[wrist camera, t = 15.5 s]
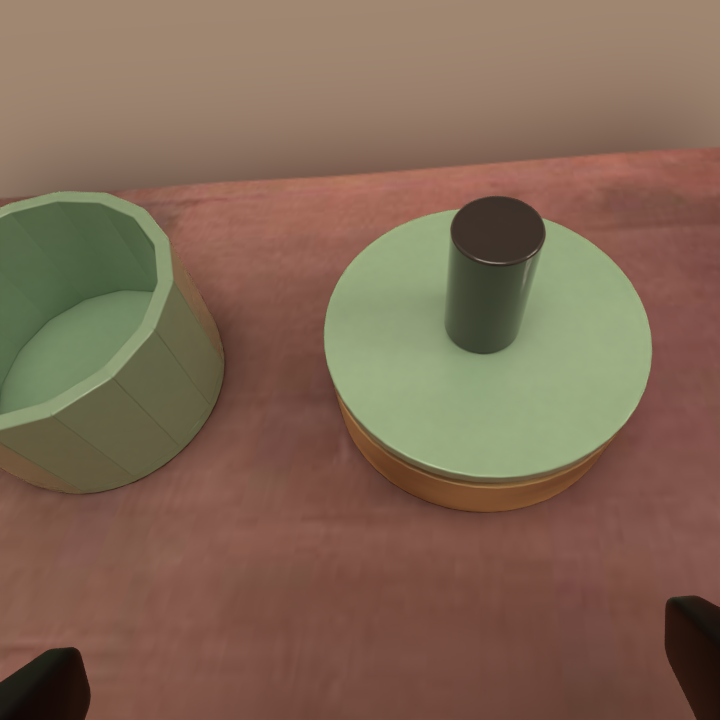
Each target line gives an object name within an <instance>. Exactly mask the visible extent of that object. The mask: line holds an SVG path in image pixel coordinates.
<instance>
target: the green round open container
mask: <svg viewBox="0 0 720 720" xmlns="http://www.w3.org/2000/svg"><path fill="white" fill-rule="evenodd" d="M224 365H225V360H224V349H223V345H222V341H221V337H220V335H219V333H218V328H217V325H216V323H215V321H214V319H213V317H212V315H211V313H210V312H209V310H208V308H207V306H206V304H205V303H204V301H203V299H202V297H201V295H200V294H199V292H198V290H197V288H196V286H195V285H194V283H193V281H192V279H191V277H190V276H189V274H188V272H187V270H186V268H185V267H184V265H183V263H182V261H181V259H180V257H179V256H178V254H177V252H176V250H175V248H174V247H173V245H172V243H171V241H170V239H169V238H168V236H167V235H166V234H165V233H164V232H163V230H162V229H161V228H160V227H159V225H158V224H157V223H156V222H155V220H154V219H153V218H152V217H151V215H150V214H149V213H148V212H147V210H145V209H144V208H142V207H140V206H137V205H135V204H133V203H130V202H128V201H125V200H123V199H121V198H118V197H116V196H113V195H111V194H108V193H101V192H67V191H65V192H64V191H61V192H55V193H51V194H47V195H43V196H38V197H34V198H30V199H26V200H22V201H18V202H14V203H10V204H9V205H8V204H7V205H5V206H3V207H1V208H0V468H1V469H3V470H5V471H7V472H9V473H11V474H12V475H14V476H16V477H18V478H20V479H22V480H24V481H26V482H28V483H29V484H31V485H34V486H38V487H43V488H46V489H48V490H52V491H57V492H62V493H76V494H84V493H95V492H101V491H106V490H110V489H115V488H118V487H121V486H123V485H126V484H129V483H132V482H134V481H136V480H138V479H140V478H142V477H145V476H147V475H148V474H150V473H152V472H153V471H155V470H157V469H158V468H160V467H162V466H163V465H164V464H166V463H167V462H168V461H169V460H171V459H172V458H173V457H175V456H176V455H177V454H178V453H179V452H180V451H181V450H182V449H183V448H184V447H185V446H187V445H188V444H189V442H190V441H191V440H192V439H193V438H194V437H195V435H196V434H197V433H198V432H199V431H200V429H201V428H202V426H203V425H204V423H205V422H206V420H207V419H208V417H209V415H210V413H211V411H212V409H213V408H214V406H215V404H216V401H217V398H218V395H219V393H220V390H221V386H222V381H223V376H224Z"/></svg>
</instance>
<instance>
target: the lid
mask: <svg viewBox="0 0 720 720" xmlns="http://www.w3.org/2000/svg"><path fill="white" fill-rule="evenodd" d="M324 351H325V356H326V361H327V367H328V370H329V373H330V376H331V379H332V382H333V385H334V387H335V390H336V392H337V394H338V396H339V397H340V399H341V401H342V403H343V405H344V407H345V408H346V409H347V411H348V412H349V413H350V415H351V416H352V418H353V419H354V420H355V422H356V423H357V424H358V425H359V426H360V427H361V428H362V429H363V430H364V431H365V432H366V433H367V434H368V435H369V436H370V437H371V438H372V439H373V440H375V441H376V442H377V443H379V444H380V445H381V446H382V447H384V448H385V449H386V450H387V451H389V452H391V453H393V454H394V455H396V456H398V457H399V458H401V459H403V460H404V461H406V462H408V463H410V464H413V465H415V466H417V467H419V468H422V469H424V470H426V471H429V472H432V473H436V474H439V475H442V476H446V477H449V478H454V479H460V480H466V481H472V482H487V483H505V482H517V481H525V480H530V479H535V478H539V477H544V476H548V475H550V474H553V473H556V472H559V471H561V470H564V469H567V468H569V467H571V466H573V465H575V464H577V463H579V462H581V461H582V460H584V459H586V458H588V457H590V456H591V455H592V454H594V453H595V452H596V451H598V450H599V449H600V448H602V447H603V446H604V445H606V444H607V443H608V442H609V441H610V440H611V439H612V438H613V437H614V436H615V435H616V434H617V433H618V432H619V431H620V430H621V428H622V427H623V426H624V424H625V423H626V422H627V420H628V419H629V417H630V416H631V415H632V413H633V412H634V410H635V409H636V407H637V405H638V403H639V401H640V399H641V397H642V395H643V393H644V391H645V388H646V385H647V381H648V378H649V374H650V369H651V360H652V341H651V332H650V327H649V323H648V318H647V315H646V312H645V310H644V307H643V305H642V302H641V300H640V298H639V296H638V294H637V292H636V291H635V289H634V287H633V285H632V284H631V282H630V281H629V279H628V278H627V277H626V276H625V274H624V273H623V272H622V270H621V269H620V268H619V267H618V266H617V265H616V264H615V263H614V262H613V261H612V260H611V259H610V258H609V257H608V256H607V255H606V254H605V253H604V252H603V251H601V250H600V249H599V248H598V247H596V246H595V245H594V244H593V243H591V242H590V241H588V240H587V239H585V238H583V237H582V236H580V235H579V234H577V233H575V232H573V231H571V230H569V229H567V228H565V227H563V226H561V225H559V224H557V223H554V222H552V221H549V220H546V219H544V218H541V216H540V215H539V214H538V213H537V211H536V210H535V209H533V208H532V207H531V206H529V205H528V204H526V203H524V202H522V201H520V200H517V199H514V198H510V197H504V196H490V197H483V198H479V199H476V200H474V201H471V202H470V203H468V204H466V205H465V206H463V207H462V208H461V209H455V210H447V211H443V212H438V213H433V214H429V215H426V216H423V217H420V218H416V219H413V220H411V221H409V222H407V223H404V224H402V225H400V226H397V227H396V228H394V229H392V230H390V231H389V232H387V233H385V234H383V235H382V236H380V237H379V238H378V239H376V240H375V241H373V242H372V243H371V244H369V245H368V246H367V247H366V248H365V249H364V250H363V251H362V252H361V253H360V254H358V255H357V256H356V258H355V259H354V260H353V261H352V262H351V264H350V265H349V266H348V267H347V268H346V270H345V271H344V273H343V274H342V276H341V278H340V279H339V281H338V282H337V284H336V287H335V289H334V291H333V293H332V295H331V298H330V301H329V304H328V308H327V311H326V315H325V323H324Z"/></svg>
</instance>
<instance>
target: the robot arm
mask: <svg viewBox="0 0 720 720" xmlns="http://www.w3.org/2000/svg"><path fill="white" fill-rule="evenodd" d="M665 650H666V654H667V658H668V660H669V663H670V665H671V667H672V669H673V671H674V673H675V675H676V677H677V679H678V682H679V684H680V686H681V688H682V690H683V692H684V694H685V696H686V698H687V700H688V702H689V704H690V706H691V708H692V711H693V713H694V715H695V717H696V719H697V720H720V607H718V606H716V605H714V604H712V603H710V602H709V601H707V600H705V599H703V598H701V597H698V596H681V597H672V598H670V599H668V600H667V603H666V608H665ZM90 697H91V694H90V687H89V683H88V679H87V675H86V672H85V668H84V664H83V661H82V657H81V654H80V652H79V651H78V649H76V648H74V647H68V648H55V649H50V650H47V651H46V652H44V653H43V654H41V655H40V656H38V657H37V658H35V659H34V660H33V661H31V662H30V663H28V664H27V665H25V666H24V667H22V668H21V669H19V670H18V671H17V672H15V673H14V674H12V675H11V676H9V677H8V678H6V679H5V680H3V681H2V682H0V720H85V717H86V714H87V712H88V708H89V704H90Z"/></svg>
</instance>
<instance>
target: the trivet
mask: <svg viewBox="0 0 720 720" xmlns="http://www.w3.org/2000/svg"><path fill="white" fill-rule="evenodd" d="M334 388H335V387H334ZM335 392H336V390H335ZM336 395H337V399H338V402H339V406H340V410H341V413H342V416H343V419H344V421H345V424H346V427H347V429H348V431H349V433H350V435H351V437H352V439H353V441H354V443H355V444H356V446H357V447H358V448H359V450H360V451H361V453H362V454H363V455H364V457H365V458H366V459H367V460H368V461H369V462H370V463H371V464H372V466H373V467H374V468H375V469H376V470H377V471H378V472H380V473H381V474H382V475H383V476H384V477H386V478H387V479H388V480H389V481H391V482H392V483H393V484H395V485H396V486H398V487H400V488H401V489H403V490H405V491H406V492H408V493H410V494H412V495H414V496H416V497H418V498H421V499H423V500H425V501H427V502H430V503H433V504H437V505H440V506H443V507H447V508H452V509H457V510H463V511H472V512H497V511H509V510H514V509H518V508H523V507H527V506H531V505H533V504H536V503H539V502H541V501H544V500H547V499H549V498H551V497H553V496H555V495H556V494H558V493H560V492H562V491H564V490H565V489H567V488H568V487H569V486H571V485H572V484H573V483H575V482H576V481H577V480H579V479H580V478H581V477H582V476H583V475H584V474H585V473H586V472H587V471H588V470H589V469H590V468H591V467H592V466H593V465H594V463H595V462H596V461H597V459H598V458H599V457H600V456H601V454H602V453H603V452H604V450H605V449H606V448H607V447H608V445H609V444H610V443H611V441H612V440H613V439H614V437H615V436H616V435H617V434H616V435H615V436H614V437H613V438H612V439H611V440H610V441H609V442H608V443H607V444H606V445H604V446H603V447H602V448H600V449H599V450H598V451H596V452H595V453H594V454H592V455H591V456H590V457H588V458H586V459H584V460H582V461H581V462H579V463H577V464H575V465H573V466H571V467H569V468H567V469H564V470H561V471H559V472H556V473H553V474H550V475H548V476H544V477H539V478H535V479H530V480H525V481H517V482H505V483H487V482H472V481H466V480H460V479H454V478H449V477H446V476H442V475H439V474H436V473H432V472H429V471H426V470H424V469H422V468H419V467H417V466H415V465H413V464H410V463H408V462H406V461H404V460H403V459H401V458H399V457H398V456H396V455H394V454H393V453H391V452H389V451H387V450H386V449H385V448H384V447H382V446H381V445H380V444H379V443H377V442H376V441H375V440H373V439H372V438H371V437H370V436H369V435H368V434H367V433H366V432H365V431H364V430H363V429H362V428H361V427H360V426H359V425H358V424H357V423H356V422H355V420H354V419H353V418H352V416H351V415H350V413H349V412H348V411H347V409H346V408H345V407H344V405H343V403H342V401H341V399H340V397H339V396H338V394H337V392H336Z"/></svg>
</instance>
